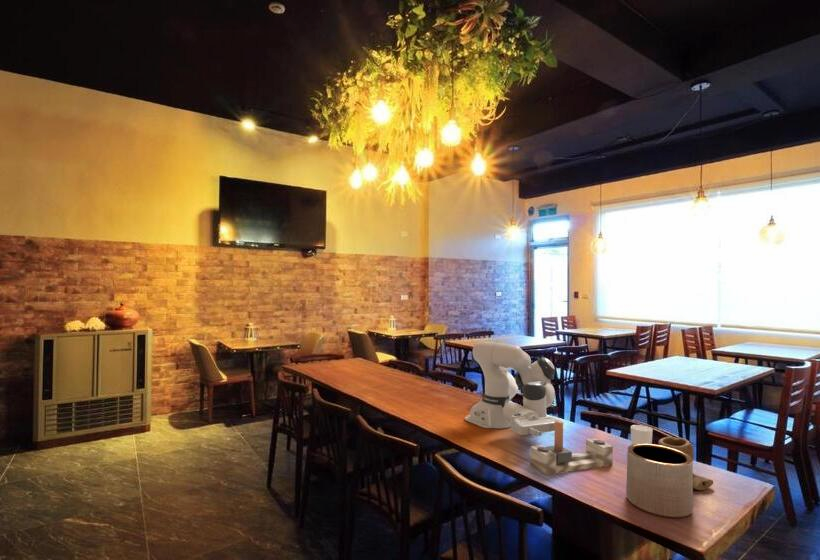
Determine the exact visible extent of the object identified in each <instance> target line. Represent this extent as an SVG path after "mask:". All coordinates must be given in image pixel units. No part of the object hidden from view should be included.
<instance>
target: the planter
mask: <svg viewBox="0 0 820 560" xmlns="http://www.w3.org/2000/svg"><path fill="white" fill-rule="evenodd" d="M626 452H627V453H626V454H627V455H626V456H627V457H626V458H627V459H626V484H625V485H626V486H625V487H626V488H625V490H626V491H625V492H626V493H625V494H626V499H628V501H629V502H631V504H632V505H633V506H635V507H637V508H638V509H640V510H641V511H644V512H646V513H648V512H649V514H651V515H655V516H658V517H663V518H673V519H676V518H685V517H687V516H689V515H691V514H692V512H693V507H694V489H693V474H694V472H693V471H694V464H693V463H694V459H693V460H692V458H691V457H690V456H689V455H687V454H686V453H684V452H681V451H679V450H676V449H673V448H670V447H666V446H661V445H658V444H653V443H652V444H633V445H629V446H628V447H627V451H626Z"/></svg>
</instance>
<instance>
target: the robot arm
mask: <svg viewBox="0 0 820 560" xmlns="http://www.w3.org/2000/svg"><path fill="white" fill-rule="evenodd" d="M472 357H473V359H474V360H475V361H476V362H477V363H478V364H479V366H480V368H481V370H482V372H483V373H482V374H483V377H484V393H482V394H481V395H480V398H481V400H479V401H478V402H477V403H475V404H474V405H473V406H472V407H471V408H470V412H469V414H468V415H466V416H465V417H464V420H465V421H467V422H469V423H471V424H474V425H476V426H479V427H481V428H484V429H507V428H510V431H511V432H514V433H515V434H517V435H519V436H526V435H527V436H529V435H534V436H537V437H540V436H542V433H550V432H555V421H562V420H560V419H558V418H556V417H553V416H548V415H547V408H549V407H550V406H552V404H553V403H554V399H555V397H556V391H555V388H554V386H553V384H552V383H551V381H552V380H554V379H555V377H554V376H555V373H556V367H555V366H554V364H553V362H552V361H551V360H550V359H548V358H547V357H545V356H542V357H540V358H537V360H536V361H534V362H532V360H531V356H530V355H529V354H528V353H527V352H525V351H524V350H523V349H522V348H521V347H520V346H518V345H514V344H511V343H504V342H503V343H502V342H495V341H488V340H487V341H478V342H476V343H475V344H474V345H473V348H472ZM499 366H501V367H505V368H507V369H509V370H513V371H516V372H515V374H514V376H515V377H514V379H515V382H516V384H517V386H518V390H520V391H521V392H522V398H523V399H522V404H523V405H521V404H519V403H517V402H513V401H512V402H509V395H508V391H509V380H508V378H507V376H506V375H504V374H503V373H502V372H501V370H500V368H499Z"/></svg>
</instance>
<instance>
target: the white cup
mask: <svg viewBox="0 0 820 560" xmlns="http://www.w3.org/2000/svg"><path fill="white" fill-rule="evenodd" d="M653 430H654V429H653V428H651V427H650V426H646V425H641V424H632V425H630V443H631V445H633V444H653V433H654V432H653Z"/></svg>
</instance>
